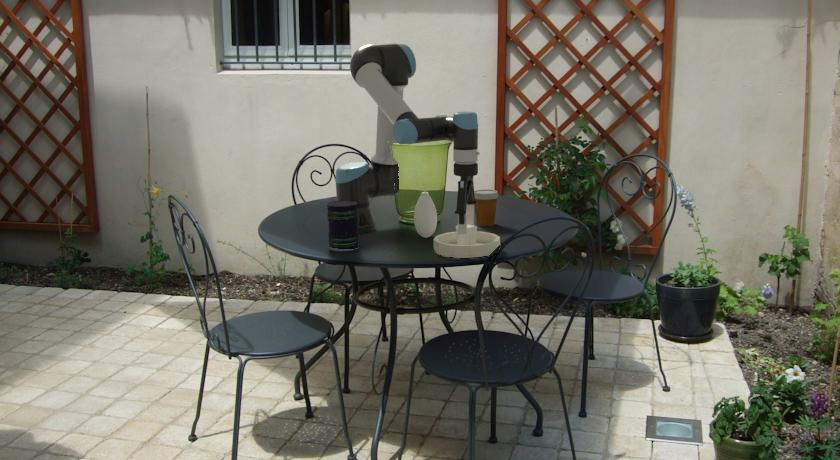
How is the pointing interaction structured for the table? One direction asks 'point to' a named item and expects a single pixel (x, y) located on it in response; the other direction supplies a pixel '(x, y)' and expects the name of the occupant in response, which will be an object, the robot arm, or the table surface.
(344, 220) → the storage jar
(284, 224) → the table surface
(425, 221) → the sauce bottle
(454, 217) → the table surface
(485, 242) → the cream bowl
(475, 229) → the shot glass
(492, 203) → the disposable coffee cup
